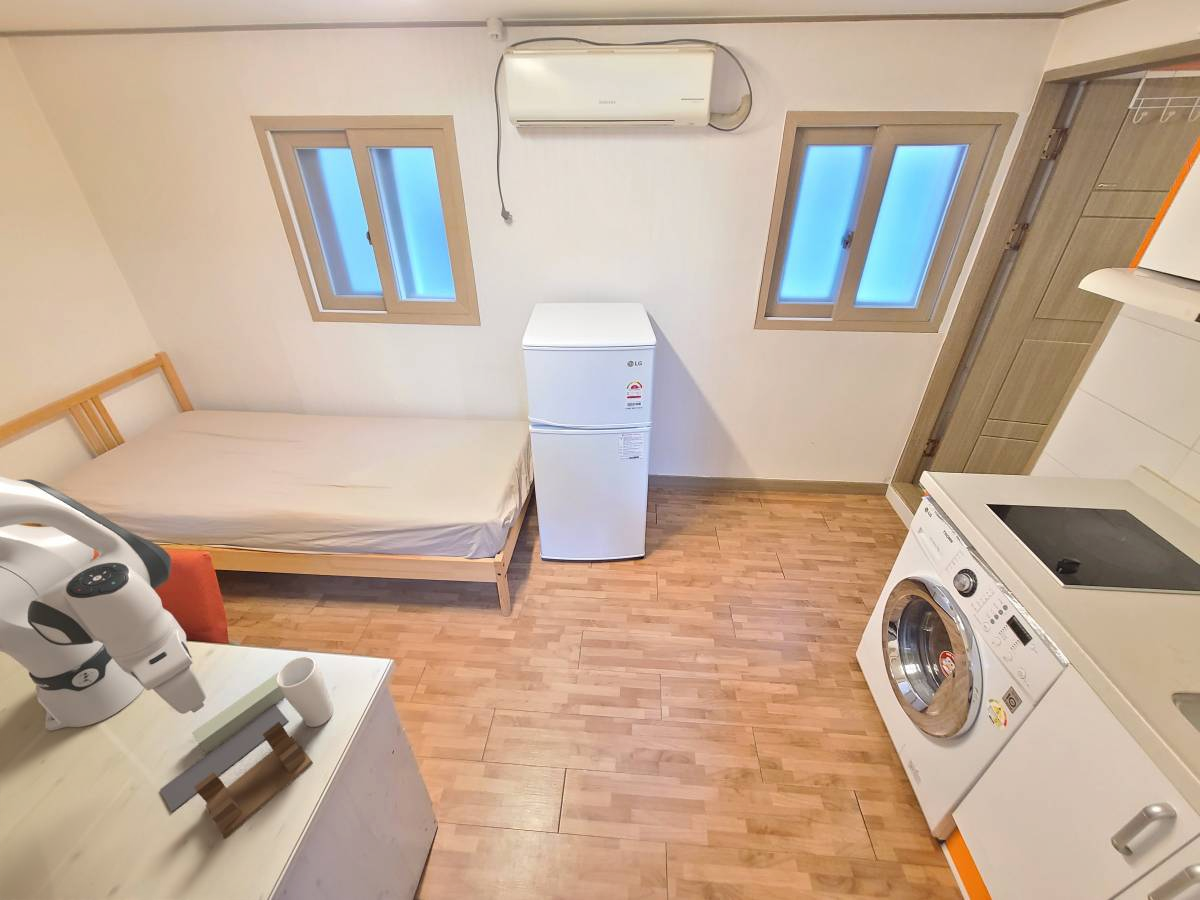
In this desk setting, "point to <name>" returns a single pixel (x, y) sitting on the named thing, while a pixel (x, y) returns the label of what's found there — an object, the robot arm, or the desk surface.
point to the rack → (254, 782)
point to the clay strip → (238, 715)
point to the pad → (221, 757)
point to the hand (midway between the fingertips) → (188, 692)
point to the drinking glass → (306, 690)
